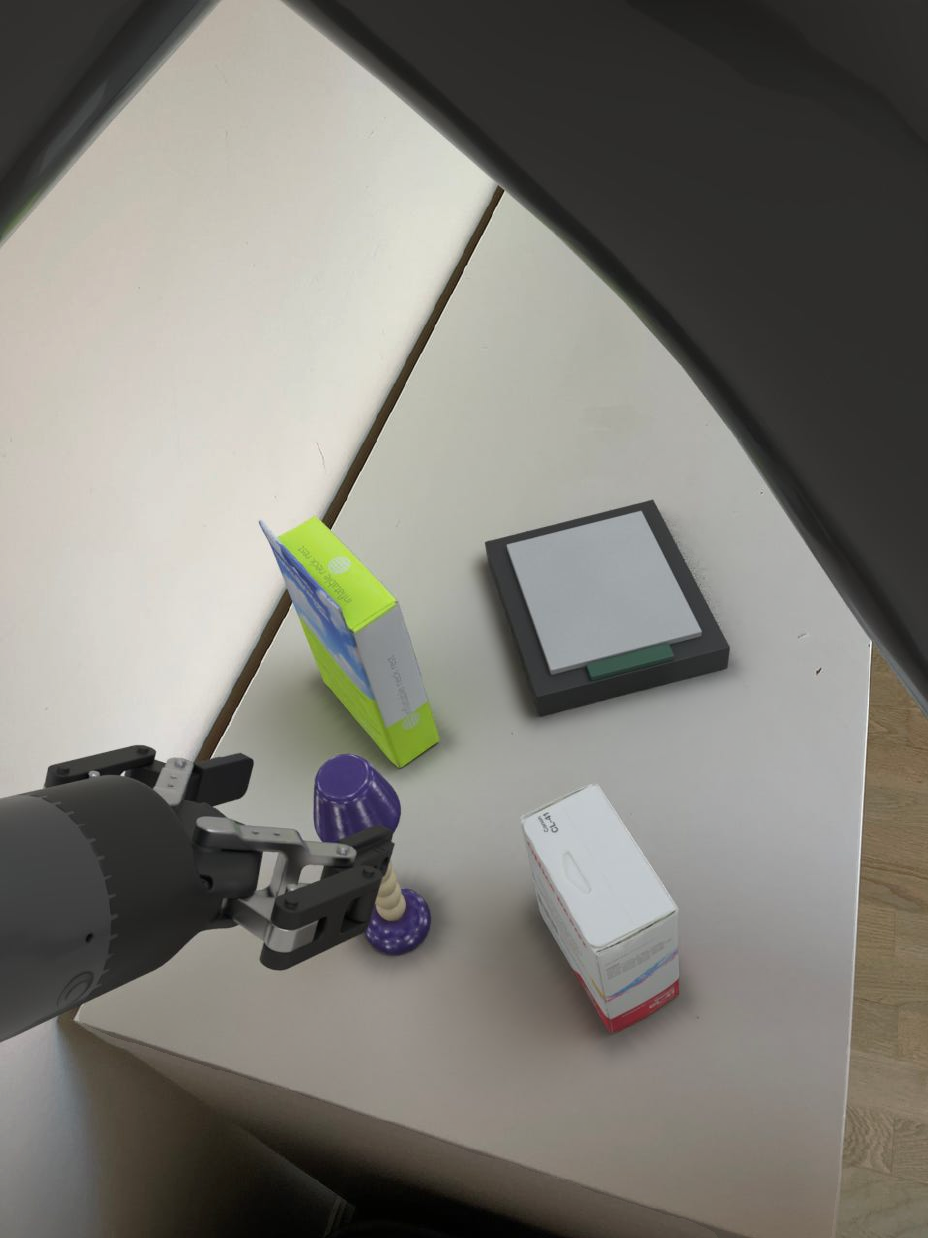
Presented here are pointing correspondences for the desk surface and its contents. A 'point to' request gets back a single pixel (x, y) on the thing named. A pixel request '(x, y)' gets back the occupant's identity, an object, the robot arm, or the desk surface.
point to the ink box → (604, 905)
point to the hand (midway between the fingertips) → (311, 808)
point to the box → (356, 638)
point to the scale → (603, 608)
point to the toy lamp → (352, 804)
